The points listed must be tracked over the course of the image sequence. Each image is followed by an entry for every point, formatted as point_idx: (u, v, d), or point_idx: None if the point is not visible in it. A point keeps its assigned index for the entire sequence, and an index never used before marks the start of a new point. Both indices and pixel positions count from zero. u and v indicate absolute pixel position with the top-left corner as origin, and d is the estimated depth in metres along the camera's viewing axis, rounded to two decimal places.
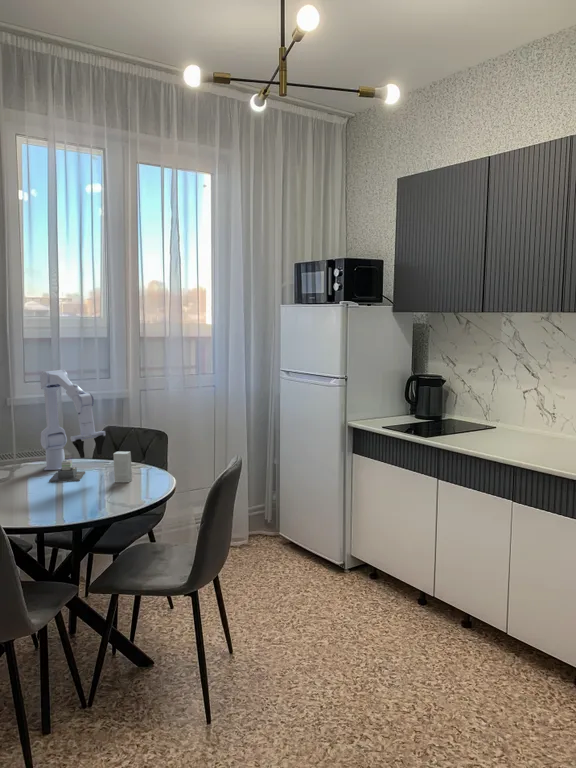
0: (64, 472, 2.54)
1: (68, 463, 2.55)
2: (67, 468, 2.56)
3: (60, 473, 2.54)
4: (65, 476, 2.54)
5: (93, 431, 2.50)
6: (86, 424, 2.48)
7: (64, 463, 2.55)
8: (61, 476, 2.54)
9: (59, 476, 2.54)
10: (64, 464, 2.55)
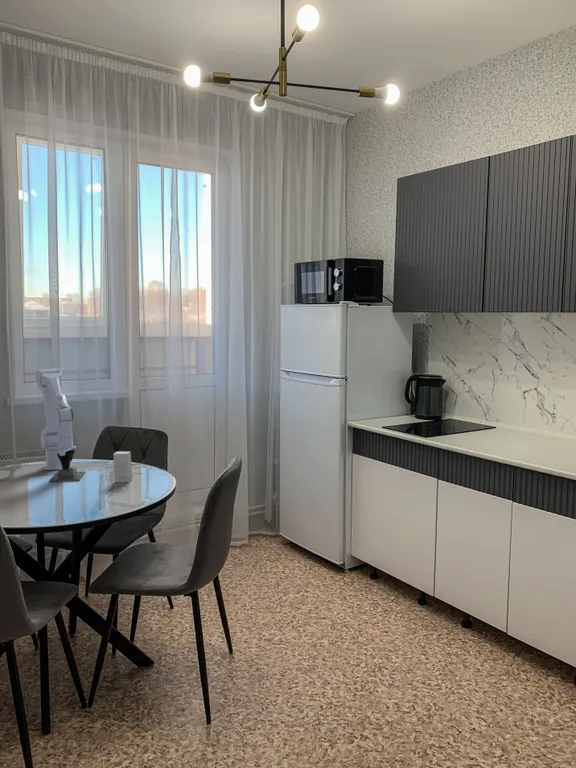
0: (64, 472, 2.54)
1: None
2: None
3: (60, 473, 2.54)
4: (65, 476, 2.54)
5: None
6: (70, 438, 2.54)
7: None
8: (61, 476, 2.54)
9: (59, 476, 2.54)
10: None
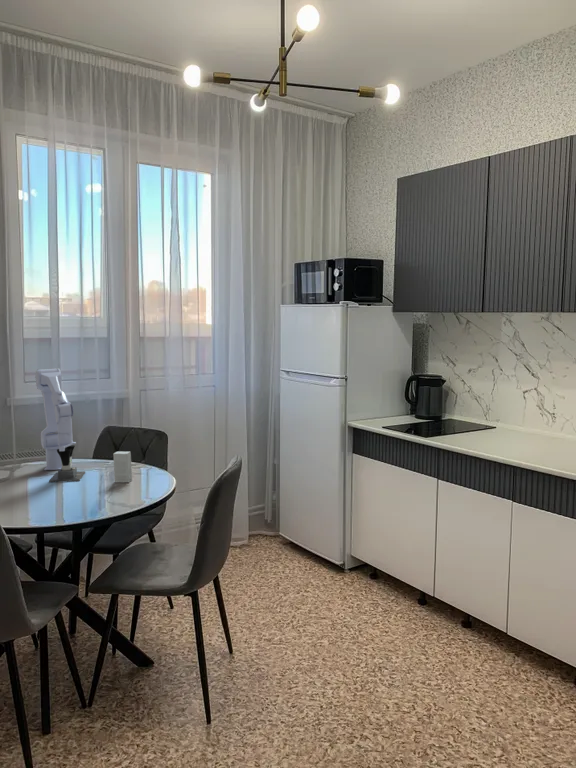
0: (64, 472, 2.54)
1: None
2: None
3: (60, 473, 2.54)
4: (65, 476, 2.54)
5: None
6: (70, 434, 2.54)
7: None
8: (61, 476, 2.54)
9: (59, 476, 2.54)
10: None
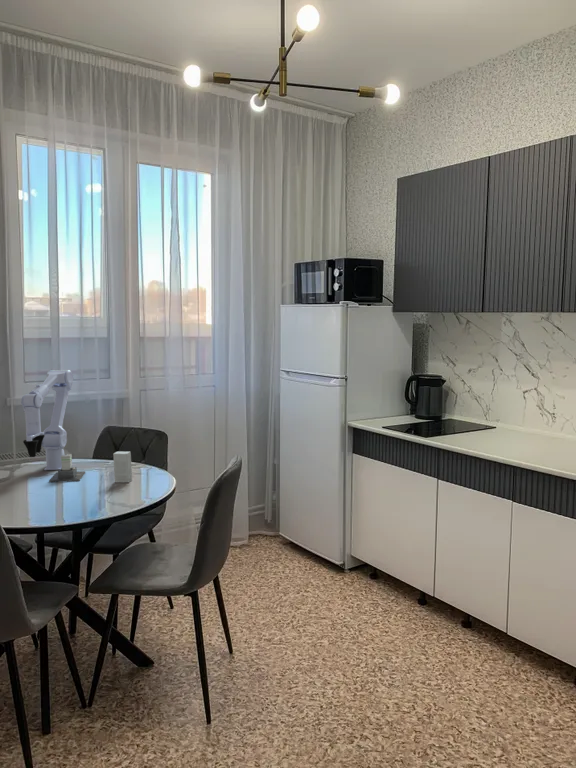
0: (64, 472, 2.54)
1: (68, 457, 2.55)
2: (66, 462, 2.55)
3: (60, 473, 2.54)
4: (65, 476, 2.54)
5: (40, 430, 2.57)
6: (38, 424, 2.54)
7: (64, 457, 2.55)
8: (61, 476, 2.54)
9: (59, 476, 2.54)
10: (64, 458, 2.55)
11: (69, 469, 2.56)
